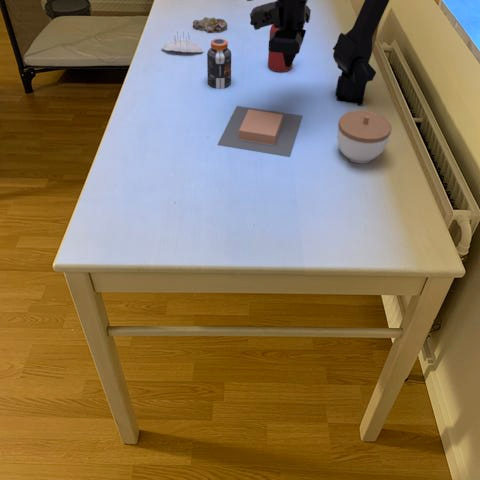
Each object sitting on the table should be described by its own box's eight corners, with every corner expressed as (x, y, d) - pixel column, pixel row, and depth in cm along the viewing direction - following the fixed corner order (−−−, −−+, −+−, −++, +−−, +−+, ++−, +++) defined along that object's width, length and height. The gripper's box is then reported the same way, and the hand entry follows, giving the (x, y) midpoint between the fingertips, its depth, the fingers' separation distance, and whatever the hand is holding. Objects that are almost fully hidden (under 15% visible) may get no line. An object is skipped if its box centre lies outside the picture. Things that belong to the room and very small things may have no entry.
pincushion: (159, 55, 142) (157, 35, 138) (163, 45, 146) (161, 25, 142) (201, 58, 141) (201, 37, 137) (205, 48, 145) (204, 28, 141)
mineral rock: (229, 15, 156) (226, 18, 149) (229, 31, 159) (226, 34, 152) (194, 15, 157) (190, 18, 150) (194, 30, 159) (190, 33, 152)
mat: (302, 117, 120) (302, 115, 119) (289, 158, 108) (290, 156, 108) (236, 107, 122) (236, 105, 122) (217, 146, 111) (217, 144, 110)
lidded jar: (343, 172, 105) (351, 133, 99) (326, 143, 113) (333, 105, 106) (391, 167, 107) (402, 128, 100) (372, 138, 114) (381, 101, 108)
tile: (283, 114, 115) (275, 136, 109) (282, 123, 117) (274, 145, 111) (248, 109, 116) (238, 130, 110) (248, 118, 118) (238, 139, 112)
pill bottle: (228, 91, 128) (228, 47, 120) (205, 89, 128) (203, 45, 120) (233, 80, 132) (233, 37, 124) (210, 78, 132) (210, 34, 124)
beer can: (292, 62, 140) (296, 18, 131) (291, 73, 135) (296, 28, 127) (268, 60, 140) (271, 16, 132) (266, 72, 135) (269, 26, 127)
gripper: (262, -26, 110) (260, 44, 121) (243, 7, 97) (243, 82, 109) (314, -22, 108) (307, 49, 120) (301, 12, 96) (295, 88, 107)
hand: (288, 66), depth 114 cm, fingers closed
